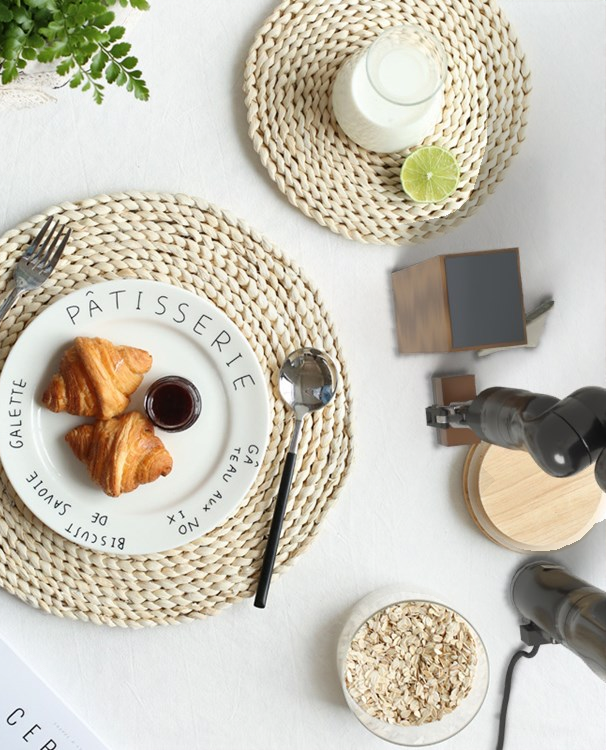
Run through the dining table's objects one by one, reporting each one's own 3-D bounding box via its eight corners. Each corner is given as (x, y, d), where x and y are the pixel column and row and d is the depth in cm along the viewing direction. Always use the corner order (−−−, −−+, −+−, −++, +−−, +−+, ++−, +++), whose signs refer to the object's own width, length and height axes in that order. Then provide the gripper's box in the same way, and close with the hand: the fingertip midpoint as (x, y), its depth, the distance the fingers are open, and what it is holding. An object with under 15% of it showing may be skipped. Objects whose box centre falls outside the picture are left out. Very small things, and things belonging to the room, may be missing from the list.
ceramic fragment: (549, 298, 124) (561, 296, 120) (565, 328, 125) (578, 327, 121) (470, 345, 124) (479, 345, 120) (487, 374, 124) (496, 375, 120)
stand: (464, 347, 124) (527, 344, 102) (399, 353, 123) (448, 352, 101) (456, 267, 123) (518, 247, 101) (391, 273, 123) (439, 254, 101)
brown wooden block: (470, 440, 124) (481, 443, 119) (437, 443, 124) (447, 447, 119) (463, 373, 124) (474, 374, 119) (431, 377, 123) (440, 378, 119)
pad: (523, 340, 102) (525, 340, 101) (452, 348, 101) (453, 348, 101) (515, 251, 101) (516, 251, 101) (443, 258, 101) (444, 258, 100)
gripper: (457, 454, 102) (417, 439, 118) (568, 442, 103) (513, 429, 119) (452, 394, 101) (412, 387, 118) (563, 382, 102) (509, 377, 119)
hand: (463, 408), depth 118 cm, fingers open, 8 cm apart
